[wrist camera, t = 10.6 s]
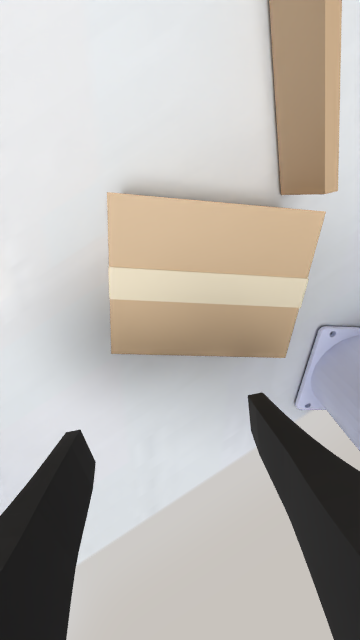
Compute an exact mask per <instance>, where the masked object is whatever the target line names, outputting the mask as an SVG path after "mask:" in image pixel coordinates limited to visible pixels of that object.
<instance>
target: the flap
mask: <svg viewBox="0 0 360 640" xmlns="http://www.w3.org/2000/svg"><path fill="white" fill-rule="evenodd" d="M269 6H270V22H271V38H272V54H273V71H274V87H275V103H276V120H277V136H278V152H279V169H280V185H281V195H301V194H327V193H331V192H335V191H338V159H339V110H340V62H341V13H342V0H269Z"/></svg>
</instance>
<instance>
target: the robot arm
mask: <svg viewBox="0 0 360 640" xmlns="http://www.w3.org/2000/svg"><path fill="white" fill-rule="evenodd" d="M332 331H333V333H332V334H331V335H330V333H331V332H332ZM248 403H249V414H250V424H251V432H252V434H253V437H254V440H255V443H256V446H257V449H258V451H259V454H260V456H261V459H262V461H263V463H264V465H265V467H266V469H267V471H268V473H269V475H270V478H271V480H272V482H273V484H274V486H275V488H276V490H277V492H278V494H279V497H280V499H281V501H282V503H283V505H284V507H285V509H286V512H287V514H288V516H289V519H290V521H291V523H292V526H293V528H294V531H295V534H296V536H297V539H298V541H299V544H300V547H301V550H302V552H303V555H304V558H305V560H306V563H307V566H308V568H309V571H310V574H311V577H312V579H313V582H314V584H315V587H316V590H317V593H318V596H319V598H320V602H321V604H322V607H323V610H324V613H325V616H326V618H327V621H328V624H329V627H330V629H331V633H332V636H333V638H334V640H360V471H358V470H357V469H355V468H354V467H352V466H351V465H349V464H348V463H346V462H345V461H343V460H342V459H340V458H339V457H337V456H336V455H334V454H333V453H332V452H330V451H329V450H328V449H326V448H325V447H324V446H322V445H321V444H320V443H319V442H317V441H316V440H314V439H313V438H312V437H311V436H310V435H308V434H307V433H306V432H305V431H304V430H302V429H301V428H300V427H299V426H298V425H297V424H295V423H294V422H293V421H292V420H291V419H290V418H289V417H287V416H286V415H285V414H284V413H283V412H282V411H281V410H280V409H279V408H278V407H277V406H276V405H275V404H274V403H273V402H272V401H271V400H270V399H269V398H268V397H267V396H266V395H265V394H263V393H257V394H252V395H248ZM307 403H308V404H307ZM295 405H296V407H297V408H298V409H300V410H327V411H328V412H329V414H330V415H331V416H332V417H333V418H334V420H335V421H336V422H337V424H338V425H339V426H340V427H341V429H342V430H343V431H344V432H345V433H346V435H347V436H348V437H349V438H350V440H351V441H352V442H353V443H354V445H355V446H356V447H357V448H358V450H359V451H360V327H335V326H324V327H322V328H320V329H319V331H318V334H317V337H316V340H315V343H314V346H313V349H312V352H311V355H310V358H309V362H308V365H307V368H306V371H305V374H304V377H303V380H302V383H301V386H300V390H299V393H298V396H297V399H296V402H295ZM95 463H96V462H95V460H94V458H93V456H92V454H91V451H90V449H89V447H88V445H87V443H86V441H85V438H84V436H83V434H82V432H81V430H76V431H71V432H66V433H65V435H64V436H63V437H62V439H61V440H60V441H59V443H58V444H57V445H56V447H55V448H54V449H53V451H52V452H51V453H50V455H49V456H48V457H47V459H46V460H45V461H44V463H43V464H42V465H41V467H40V468H39V469H38V470H37V472H36V473H35V474H34V476H33V477H32V478H31V480H30V481H29V482H28V483H27V485H26V486H25V487H24V488H23V489H22V491H21V492H20V493H19V494H18V495H17V497H16V498H15V499H14V500H13V502H12V503H11V504H10V505H9V506H8V508H7V509H6V510H5V511H4V512H3V513H2V515H1V516H0V640H66V636H67V628H68V620H69V612H70V604H71V596H72V589H73V582H74V574H75V568H76V562H77V557H78V552H79V548H80V543H81V539H82V534H83V530H84V526H85V521H86V517H87V513H88V508H89V504H90V499H91V494H92V490H93V482H94V473H95Z"/></svg>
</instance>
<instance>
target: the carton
mask: <svg viewBox="0 0 360 640" xmlns="http://www.w3.org/2000/svg"><path fill="white" fill-rule="evenodd" d="M107 207H108V246H109V267H108V275H109V299H110V323H111V354H146V355H188V356H230V357H273V358H285V357H286V353H287V350H288V346H289V342H290V339H291V335H292V332H293V328H294V324H295V321H296V317H297V314H298V310H299V308H301V305H302V301H303V297H304V294H305V290H306V287H307V283H308V280H309V279H308V274H309V271H310V267H311V263H312V260H313V256H314V253H315V249H316V246H317V242H318V238H319V235H320V231H321V228H322V224H323V220H324V217H325V213H326V212H324V211H312V210H301V209H290V208H279V207H267V206H256V205H245V204H233V203H222V202H211V201H200V200H188V199H177V198H166V197H154V196H143V195H132V194H121V193H109V192H107Z"/></svg>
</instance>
